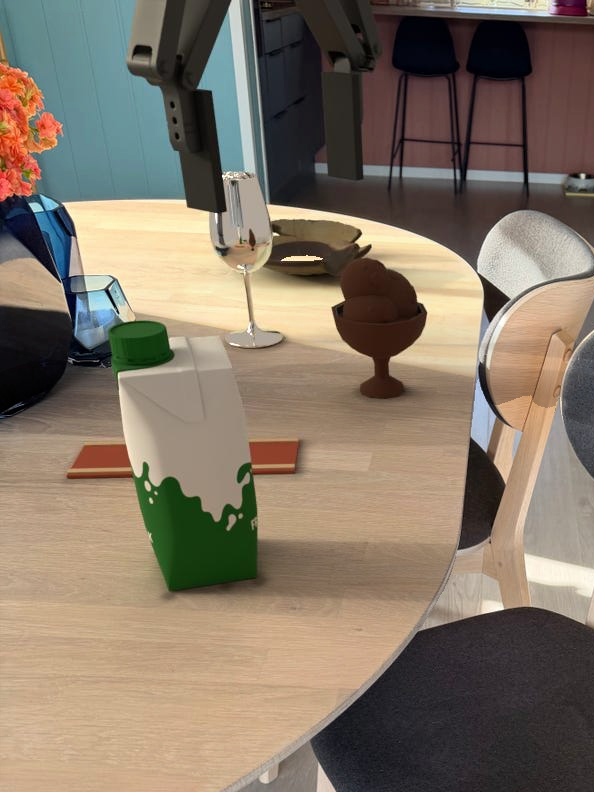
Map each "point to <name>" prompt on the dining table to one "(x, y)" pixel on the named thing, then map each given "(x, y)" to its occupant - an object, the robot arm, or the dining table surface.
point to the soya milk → (187, 453)
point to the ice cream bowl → (378, 320)
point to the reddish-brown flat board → (116, 463)
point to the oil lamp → (314, 246)
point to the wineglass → (244, 246)
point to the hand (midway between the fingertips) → (281, 193)
